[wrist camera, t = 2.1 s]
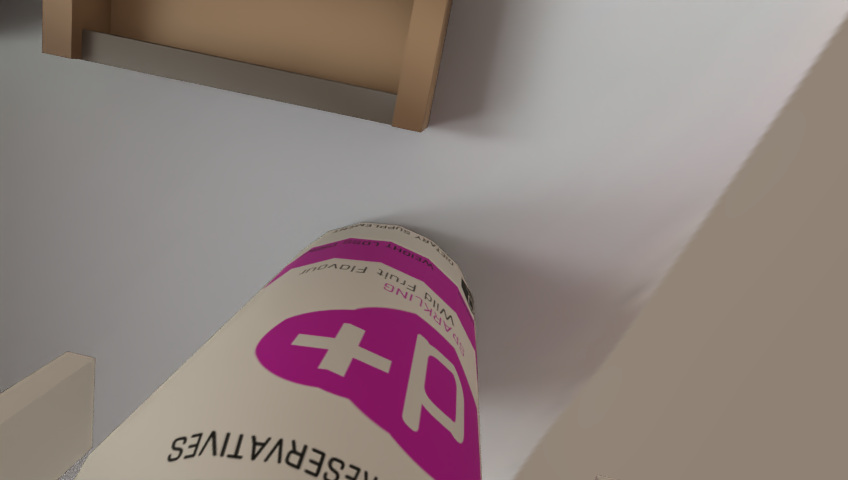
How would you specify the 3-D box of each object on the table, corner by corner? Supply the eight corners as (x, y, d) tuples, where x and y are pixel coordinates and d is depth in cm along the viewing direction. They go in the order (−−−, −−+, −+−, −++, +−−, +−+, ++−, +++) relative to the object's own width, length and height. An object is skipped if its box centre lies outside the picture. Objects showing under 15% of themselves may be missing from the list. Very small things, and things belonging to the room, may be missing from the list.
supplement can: (372, 176, 22) (181, 348, 7) (516, 315, 23) (603, 711, 8) (245, 308, 23) (-107, 655, 9) (383, 431, 25) (265, 915, 10)
